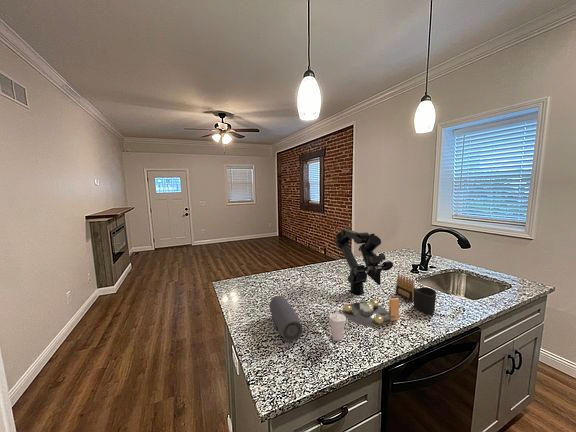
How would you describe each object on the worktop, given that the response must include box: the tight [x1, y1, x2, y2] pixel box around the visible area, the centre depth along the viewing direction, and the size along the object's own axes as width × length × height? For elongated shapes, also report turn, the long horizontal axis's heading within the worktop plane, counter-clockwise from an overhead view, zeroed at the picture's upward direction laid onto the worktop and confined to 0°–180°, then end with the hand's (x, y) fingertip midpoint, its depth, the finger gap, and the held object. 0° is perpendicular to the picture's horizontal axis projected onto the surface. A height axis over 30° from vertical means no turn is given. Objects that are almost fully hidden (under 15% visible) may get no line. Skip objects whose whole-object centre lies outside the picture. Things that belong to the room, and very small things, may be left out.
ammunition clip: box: [395, 273, 415, 302], centre depth 131 cm, size 11×2×12 cm, turn 23°
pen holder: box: [413, 286, 437, 316], centre depth 117 cm, size 9×9×10 cm
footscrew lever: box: [373, 297, 400, 326], centre depth 106 cm, size 12×4×10 cm, turn 104°
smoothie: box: [329, 305, 347, 342], centre depth 95 cm, size 6×6×14 cm
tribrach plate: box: [342, 299, 390, 327], centre depth 113 cm, size 21×21×6 cm
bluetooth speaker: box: [269, 295, 304, 342], centre depth 104 cm, size 23×9×10 cm, turn 17°
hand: (379, 284), depth 116 cm, fingers closed
